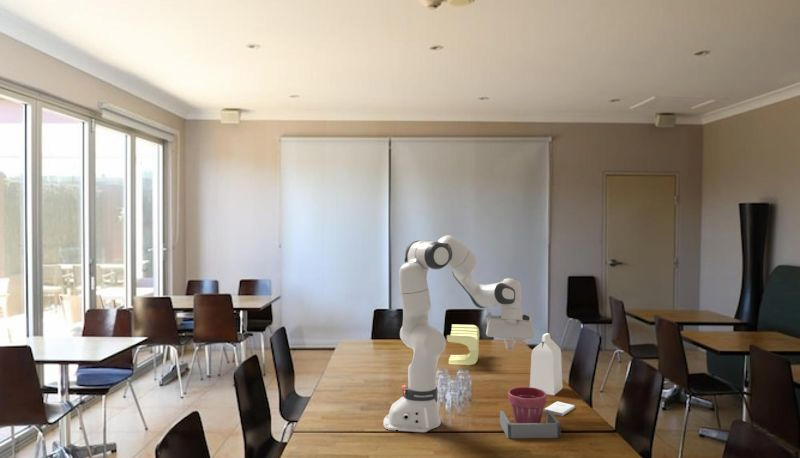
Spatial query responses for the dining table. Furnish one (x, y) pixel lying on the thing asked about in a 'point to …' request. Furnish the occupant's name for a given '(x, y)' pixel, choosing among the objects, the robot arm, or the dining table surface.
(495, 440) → the dining table surface
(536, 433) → the frame
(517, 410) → the plant pot
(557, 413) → the external hard drive
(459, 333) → the slatted curved stool
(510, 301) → the robot arm
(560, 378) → the milk
